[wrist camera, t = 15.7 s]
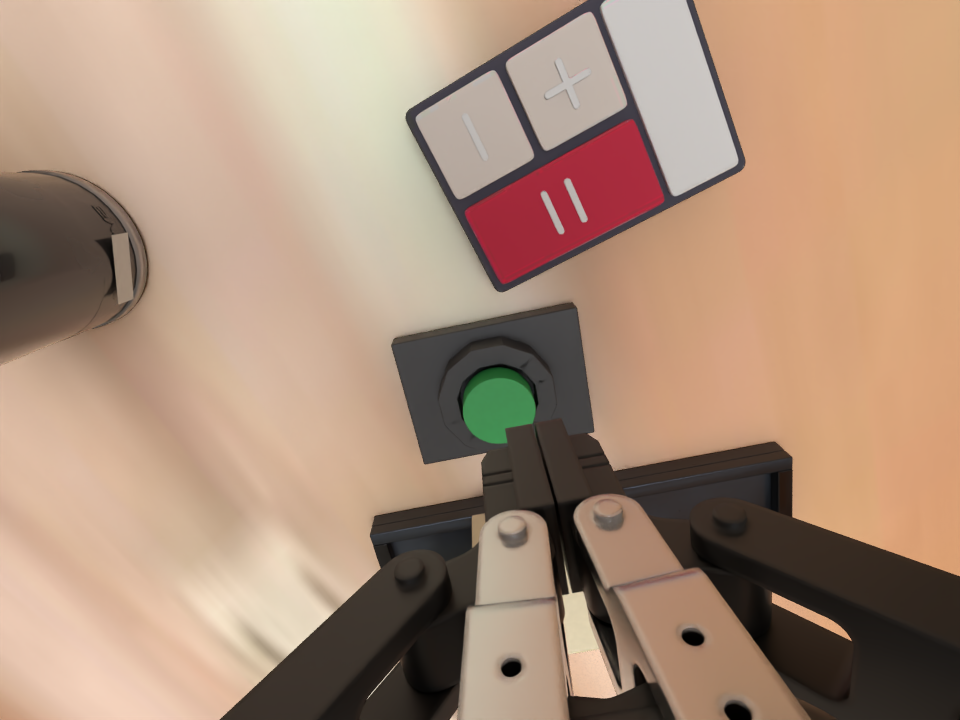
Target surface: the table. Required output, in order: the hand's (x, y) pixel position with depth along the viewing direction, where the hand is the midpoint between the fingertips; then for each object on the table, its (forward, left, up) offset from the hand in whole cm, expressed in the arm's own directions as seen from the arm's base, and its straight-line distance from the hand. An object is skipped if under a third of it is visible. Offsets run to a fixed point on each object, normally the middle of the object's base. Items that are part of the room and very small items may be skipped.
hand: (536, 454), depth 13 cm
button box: (-1, -6, -21) cm, 22 cm away
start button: (-1, -6, -18) cm, 19 cm away
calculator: (+6, +8, -21) cm, 23 cm away
